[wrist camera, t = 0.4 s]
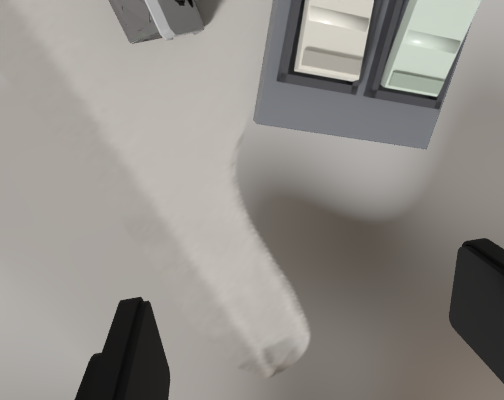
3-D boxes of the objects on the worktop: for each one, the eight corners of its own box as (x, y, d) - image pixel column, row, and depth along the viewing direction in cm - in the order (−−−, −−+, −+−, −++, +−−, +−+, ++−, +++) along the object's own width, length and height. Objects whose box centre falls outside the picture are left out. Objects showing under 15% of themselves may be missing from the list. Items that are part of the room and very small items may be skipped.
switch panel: (292, -115, 30) (304, -138, 26) (483, -62, 33) (517, -76, 30) (253, 119, 37) (258, 126, 34) (414, 143, 41) (434, 152, 37)
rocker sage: (416, -24, 30) (428, -24, 28) (473, -10, 31) (488, -9, 29) (377, 83, 35) (386, 88, 33) (428, 92, 36) (439, 97, 34)
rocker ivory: (310, -39, 30) (318, -50, 28) (371, -25, 31) (382, -34, 29) (293, 71, 32) (299, 68, 30) (351, 81, 33) (360, 79, 31)
